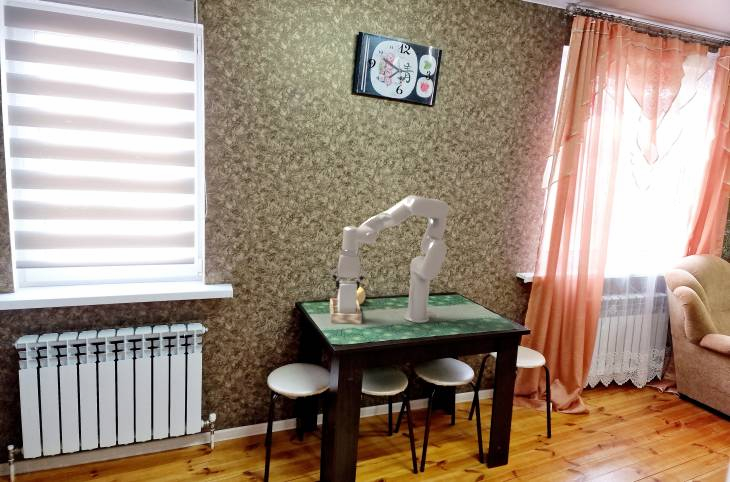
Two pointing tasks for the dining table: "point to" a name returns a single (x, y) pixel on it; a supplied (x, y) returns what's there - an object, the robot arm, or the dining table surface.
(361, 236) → the robot arm
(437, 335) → the dining table surface
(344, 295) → the skincare box
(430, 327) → the dining table surface
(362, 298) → the sculpture
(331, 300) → the crate
